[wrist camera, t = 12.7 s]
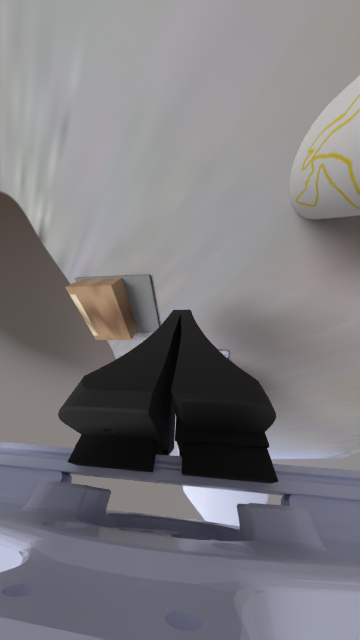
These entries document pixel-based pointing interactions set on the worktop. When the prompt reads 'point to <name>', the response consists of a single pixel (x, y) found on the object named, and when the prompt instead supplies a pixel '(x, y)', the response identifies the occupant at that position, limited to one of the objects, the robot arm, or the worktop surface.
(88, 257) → the worktop surface
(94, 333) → the slab
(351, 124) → the cup
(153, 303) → the mat
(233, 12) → the worktop surface
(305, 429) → the worktop surface
